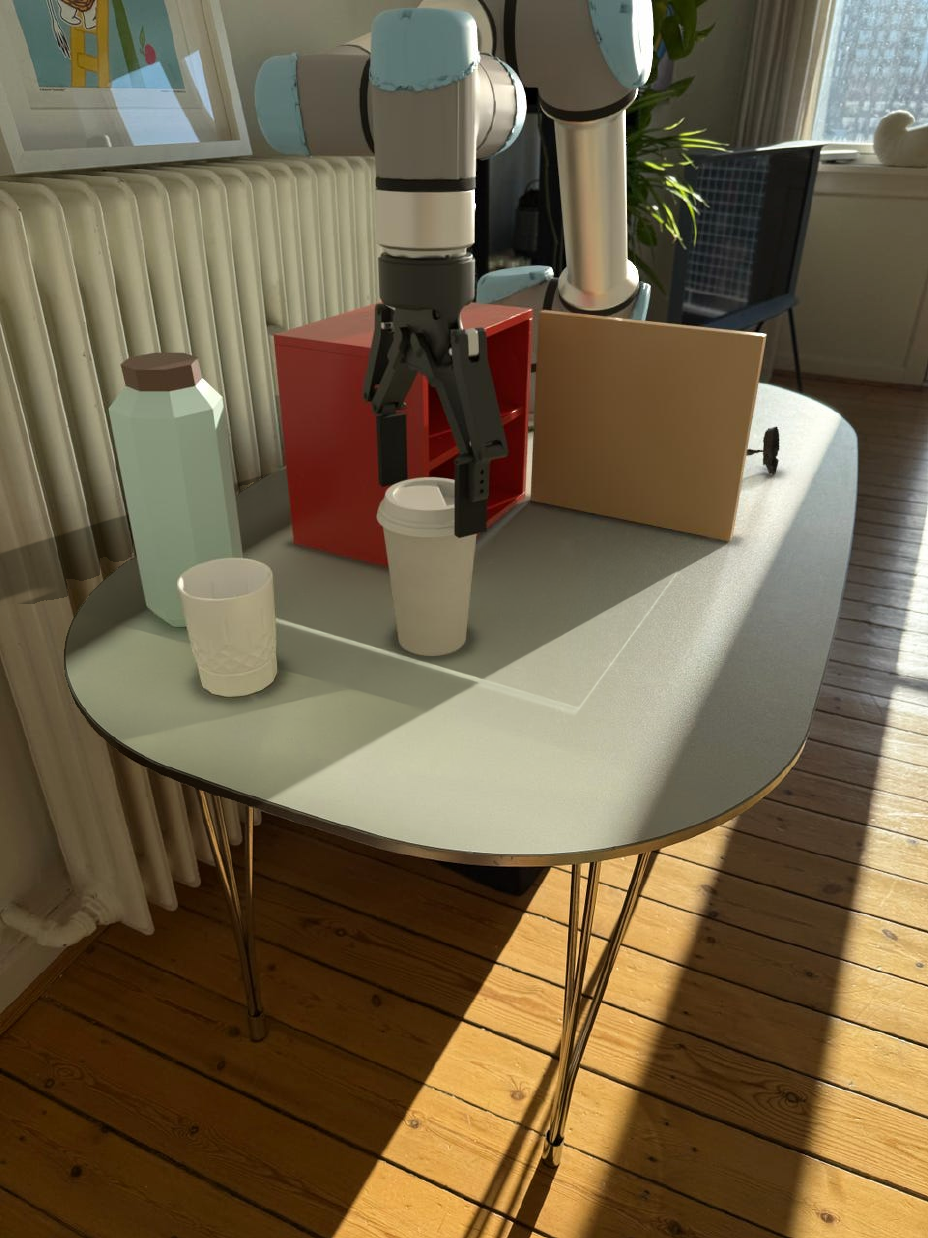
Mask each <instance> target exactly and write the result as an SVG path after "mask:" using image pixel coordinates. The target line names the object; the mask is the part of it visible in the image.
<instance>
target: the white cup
mask: <svg viewBox="0 0 928 1238" xmlns="http://www.w3.org/2000/svg"><path fill="white" fill-rule="evenodd" d="M177 587H178V592H179V596H180V600H181V605H182V609H183V614H184V618H185V622H186V626H187V627H186V631H187V634H188V635H187V636H188V639H189V640H188V641H189V644H190V647H191V650H192V655H193V659H194V660H195V662H196V666H197V669H198V673H199V678H200V682H201V686H202V688H203V689H205V690H206V691H208V692H209V693H210V694H212V695H217V696H222V697H227V698H232V697H233V698H234V697H242V696H243V697H244V696H245V697H246V696H248V695H251V694H255V693H257V692H261V691H263V690H264V689H265V688H266V687H268V686H269V685H271V684H272V683H273V682H274V680H275V678H276V676H277V674H278V662H277V651H276V649H277V631H276V629H277V622H276V621H277V620H276V604H275V590H274V589H275V588H274V574H273V571H272V568H270V566H268V564H266V563H264V562H262V561H260V560H256V559H252V558H246V557H245V558H244V557H243V558H223V559H216V560H211V561H207V562H204V563H201V564H198V565H196V566H193V567H191V568H190V569H188V570H186V571H185V572H184V573H183V574H182V575H181V576H180V577H179V579H178V581H177Z"/></svg>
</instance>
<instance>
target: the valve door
mask: <svg viewBox="0 0 928 1238" xmlns="http://www.w3.org/2000/svg"><path fill="white" fill-rule="evenodd" d="M767 336H768V335H767V333H762V332H751V331H744V330H743V331H742V330H733V329H724V328H715V327H707V326H696V325H686V324H680V323H679V324H677V323H668V322H661V321H648V320H645V321H642V320H633V319H623V318H614V317H605V316H596V315H586V314H577V313H568V312H559V311H549V310H543V311H540V312H539V318H538V341H537V363H536V386H535V408H534V429H532V431H533V432H532V433H533V435H532V437H533V438H532V456H531V476H530V477H531V479H530V498H529V499H530V501H531V502H536V503H539V504H545V505H552V506H555V507H560V508H564V509H570V510H574V511H580V512H585V513H589V514H594V515H600V516H605V517H609V518H614V519H618V520H624V521H628V522H634V523H639V524H643V525H647V526H651V527H652V526H653V527H658V528H663V529H666V530H672V531H677V532H681V533H686V534H691V535H696V536H701V537H706V538H711V539H716V540H720V541H726V542H730V541H731V540H732V538H733V537H734V531H735V526H736V519H737V513H738V508H739V501H740V496H741V491H742V490H741V489H742V485H743V484H742V483H743V477H744V471H745V467H746V460H747V456H746V455H747V449H749V441H750V437H751V436H750V435H751V431H752V424H753V418H754V413H755V406H756V400H757V394H758V389H759V384H760V383H759V382H760V376H761V371H762V364H763V359H764V353H765V347H766V341H767Z"/></svg>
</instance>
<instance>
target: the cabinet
mask: <svg viewBox="0 0 928 1238" xmlns="http://www.w3.org/2000/svg"><path fill="white" fill-rule="evenodd" d="M380 303H383V302H382V301H379V302H376V303H373V304H369V305H366V306H362V307H360V308H356V309H353V310H349V311H346V312H343V313H340V314H336V315H333V316H330V317H326V318H323V319H320V320H317V321H313V322H310V323H307V324H303V325H301V326H297V327H294V328H290V329H286V330H284V331H281V332H277V333H274V334H273V335H272V336H273V346H274V356H275V357H274V358H275V366H276V377H277V387H278V396H279V408H280V417H281V418H280V419H281V428H282V437H283V448H284V459H285V460H284V461H285V468H286V480H287V489H288V500H289V510H290V511H289V512H290V519H291V520H290V521H291V531H292V539H293V544H294V545H297V546H301V547H306V548H310V549H314V550H318V551H321V552H325V553H330V554H334V555H336V556H337V555H338V556H342V557H346V558H350V559H353V560H357V561H362V562H366V563H370V564H374V565H378V566H381V567H384V568H385V567H386V568H389V565H388V558H387V551H386V544H385V537H384V530H383V526H382V525H381V524H380V523H379V522H378V520H377V512H378V508H379V506H380V503H381V501H382V500H383V499H384V497H385V493H386V491H387V489H388V488H389V487H391V486H392V485H389V486H385V487H382V486H380V485H379V478H378V454H377V429H376V414H374V413H373V411H372V408H371V402H365V401H364V400H363V397H362V390H363V385H364V380H365V375H366V370H367V365H368V360H369V355H370V350H371V345H372V340H373V334H374V329H375V306H376V304H380ZM460 315H461V322H462V327H463V329H471V328H478V327H483V328H484V329H485V331H486V335H487V357H488V363H489V367H490V372H491V376H492V380H493V385H494V389H495V394H496V398H497V402H498V407H499V411H500V415H501V420H502V424H503V429H504V433H505V437H506V442H507V446H508V455H507V456H506V457H503V458H498V459H493V460H491V461H490V466H489V495H488V498H487V529H488V528H490V527H491V526H493V524H495V523H496V522H498V521H499V520H500V519H501V518H502V517H503V516H505V515H506V514H508V513H509V512H510V511H511V510H512V509H513V508H515V507H516V506H517V505H518V504H520V503H521V502H523V500H524V499H526V491H527V489H526V488H527V469H528V467H527V466H528V446H529V445H528V442H529V430H528V421H529V397H530V373H531V349H532V325H533V318H532V317H533V309H531V308H522V307H512V306H503V305H493V304H484V303H476V302H474V301H472V302H471V303H470V304H469V305H466V306H464V307H463V309H462V310H461V313H460ZM469 360H470V359H469ZM451 369H454V367H453V365H452V368H451ZM375 387H379V384H377V385H375ZM404 402H405V404H406V406H404V407H407V409H403V410H397V411H396V413H400V412H403V413H405V414H406V428H407V469H408V480H409V479H415V478H426V477H435V478H447V479H452V480H455V462H454V460H455V459H456V458H457V457H458V456H460V453H459V450H458V447H457V444H456V442H455V439H454V436H453V434H452V431H451V428H450V425H449V423H448V420H447V417H446V414H445V412H444V409H443V406H442V404H441V401H440V398H439V395H438V393H437V390H436V388H435V387H432V386H430V385H429V383H428V381H427V378H426V376H424V375H422V374H421V373H420V372H419V371H418V373H417V375H416V377H415V380H414V382H413V384H412V386H411V388H410V390H409V392H408V394H407V396H406V398H405V400H404ZM492 443H493V441H492ZM470 445H471V442H470ZM471 447H472V445H471ZM481 534H482V533H478V534H477V535H476V538H477V537H479V536H480V535H481Z"/></svg>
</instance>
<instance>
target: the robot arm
mask: <svg viewBox="0 0 928 1238" xmlns="http://www.w3.org/2000/svg"><path fill="white" fill-rule="evenodd" d="M652 5H653V4H652V0H421V2H420V4H419V5H418V6H417V7H402V8H392V9H386V10H383V11H381V12H379V13H378V14H377V15H376V17H374V19H373V21H372V24H371V28H370V29H371V31H370V32H367V33H365V34H363V35H361V36H359V37H356V38H354V39H352V40H349V41H347V42H345V43H343V44H340V45H337V46H334V47H331V48H329V49H326V50H324V51H322V52H319V53H311V54H303V53H302V54H300V53H299V52H292V53H291V54H287V55H286V54H285V55H274V56H271V57H269V58H267V59H265V61H263V63H262V65H261V67H260V68H259V70H258V73H257V76H256V80H255V84H254V85H255V86H254V106H255V110H256V115H257V122H258V125H259V129H260V131H261V133H262V135H263V137H264V140H265V141H266V142H267V144H268V145H269V146H270V147H271V148H272V149H273V150H275V151H276V152H278V153H281V154H285V155H286V154H288V155H297V156H298V155H299V156H305V157H306V158H308V159H309V158H313V157H374V166H375V180H374V181H375V188H374V199H375V200H374V201H375V202H374V203H375V220H376V221H375V224H376V243H377V244H378V245H379V247H381V248H383V249H384V252H381V253H380V256H379V257H378V258H377V262H378V263H377V267H378V268H377V269H378V271H377V272H378V290H379V291H378V295H379V296H378V297H379V299H380V302H383V303H380V304H376V306H375V329H374V334H373V340H372V345H371V350H370V355H369V360H368V365H367V370H366V375H365V380H364V385H363V390H362V397H363V400H364V401H365V402H371V408H372V411H373V413H374V414H376V429H377V454H378V478H379V485H380V486H382V487H385V486H389V485H394V484H396V483H399V482H401V481H405V480H408V469H407V428H406V414H405V413H403V412H400V413H396V411H397V410H403V409H407V407H404V406H406V404H405V402H404V400H405V398H406V396H407V394H408V392H409V390H410V388H411V386H412V384H413V382H414V380H415V377H416V375H417V373H418V371H419V372H420V373H421V374H422V375H424V376H426V378H427V381H428V383H429V385H430V386H432V387H435V388H436V390H437V393H438V395H439V398H440V401H441V404H442V406H443V409H444V412H445V414H446V417H447V420H448V423H449V425H450V428H451V431H452V434H453V436H454V439H455V442H456V444H457V447H458V450H459V453H460V456H458V457H457V458H456V459H455V460H454V462H455V485H454V535H455V536H457V537H458V538H462V537H466V536H470V535H474V534H478V533H481V534H482V533H486V532H487V531H488V528H487V498H488V495H489V466H490V461H491V460H493V459H498V458H503V457H506V456H507V455H508V446H507V442H506V437H505V433H504V429H503V424H502V420H501V415H500V411H499V407H498V402H497V398H496V394H495V389H494V385H493V380H492V376H491V372H490V367H489V363H488V357H487V335H486V331H485V329H484V328H483V327H478V328H471V329H463V327H462V322H461V315H460V313H461V310H462V309H463V307H464V306H466V305H469V304H470V303H471V302H474V299H475V283H476V282H475V281H476V280H475V279H476V278H475V274H476V272H475V271H476V270H475V269H476V259H475V257H474V256H473V254H472V253H471V252H469V251H467V249H469V248H470V247H472V246H473V245H474V244H475V212H476V206H477V205H476V203H475V196H476V195H475V193H476V192H475V189H476V187H477V186H476V184H477V183H476V177H477V175H476V172H477V160H480V161H485V160H489V159H490V158H491V157H495V156H497V155H499V154H501V153H502V152H504V151H506V149H508V148H509V147H510V146H512V145H513V144H514V142H515V141H516V139H517V138H518V137H519V135H520V134H521V131H522V129H523V126H524V123H525V120H526V114H527V99H526V92H525V89H524V88H535V89H537V90H538V96H539V97H538V99H539V105H540V108H541V111H542V112H543V113H544V114H545V115H546V116H547V117H548V118H550V119H551V120H553V123H554V134H555V146H556V158H557V169H558V177H559V179H558V180H559V192H560V204H561V215H562V227H563V238H564V239H563V240H564V249H565V261H566V267H565V268H564V269H563V270H562V271H561V273H560V275H559V277H554V275H555V274H554V273H555V272H554V271H553V268H552V267H551V266H549V265H525V266H516V267H509V268H503V269H498V270H493V271H490V272H488V273H487V272H486V273H485V274H483V275H482V276H481V277H480V278H479V280H478V281H477V285H476V300H475V303H484V304H493V305H503V306H512V307H522V308H531V309H533V317H532V318H533V325H532V349H531V373H530V397H529V421H528V431H529V430H530V431H531V430H534V408H535V386H536V363H537V341H538V318H539V312H540V311H543V310H549V311H559V312H568V313H577V314H586V315H596V316H605V317H614V318H623V319H633V320H642V321H646V317H647V313H648V308H649V303H650V298H651V285H650V284H649V283H646V282H644V281H639V272H638V269H637V268H636V266H635V265H634V264H633V262H632V261H630V260H629V259H628V212H627V211H628V210H627V209H628V208H627V207H628V205H627V201H628V200H627V145H626V144H627V142H626V140H627V139H626V137H627V136H626V110H627V109H628V108H629V107H630V106H631V105H633V103H634V101H635V100H636V98H637V95H638V91H639V88H640V87H642V86H644V85H645V84H646V83H647V81H648V79H649V77H650V73H651V69H652V63H653V55H654V54H653V52H654V45H653V37H654V17H653V6H652ZM469 359H470V360H469ZM452 365H453V367H454V369H451V368H452ZM377 384H379V387H375V385H377ZM492 441H493V443H492ZM470 442H471V445H472V447H471V445H470Z"/></svg>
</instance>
